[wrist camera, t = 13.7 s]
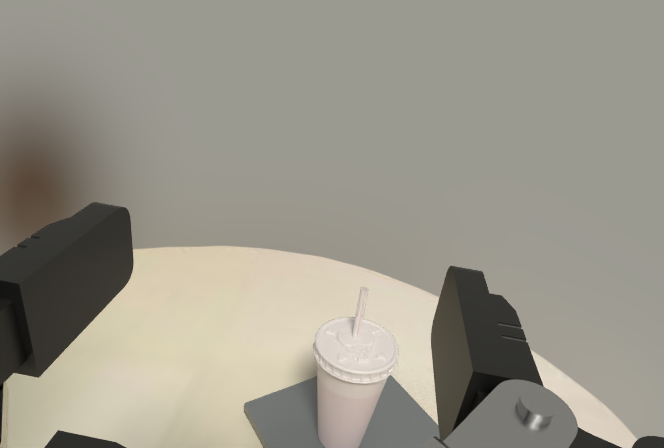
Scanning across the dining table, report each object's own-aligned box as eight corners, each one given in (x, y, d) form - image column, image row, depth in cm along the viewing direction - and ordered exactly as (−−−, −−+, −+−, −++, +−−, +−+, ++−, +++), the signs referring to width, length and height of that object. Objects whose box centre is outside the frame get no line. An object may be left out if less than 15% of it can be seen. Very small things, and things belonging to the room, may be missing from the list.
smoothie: (367, 402, 42) (395, 269, 36) (387, 465, 37) (425, 321, 31) (296, 406, 41) (314, 269, 35) (307, 472, 35) (330, 323, 29)
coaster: (244, 411, 41) (244, 403, 41) (371, 363, 48) (373, 356, 48) (327, 564, 31) (329, 555, 30) (473, 474, 38) (476, 466, 38)
